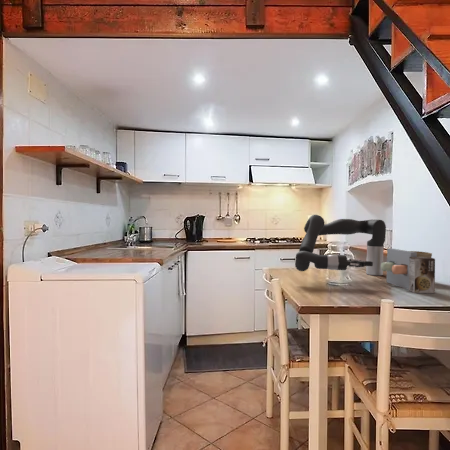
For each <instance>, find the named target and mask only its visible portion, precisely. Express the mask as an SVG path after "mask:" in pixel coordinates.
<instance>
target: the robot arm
mask: <svg viewBox="0 0 450 450" xmlns="http://www.w3.org/2000/svg"><path fill="white" fill-rule="evenodd" d="M386 226H387V225H386V222H385V221H384V220H383V219H367V220H366V219H365V220H356V219H352V218H339V219H336V220H333V221H330V222H328V223H325V219H324V217H322V216H321V215H320V214H319V215H318V214H312V215H310V217H309V218H308V220H307V221H306V223H305V225H304V227H303V231H304V232H305V235H304V237H303V238H302V241H301V244H300V246H299V250H298V252H297V253H296V254H295V259H294V260H295V264H294V266H295V268H296V270H297V271H299V272H305V271H307V270H308V269H309V267H310V264H312V263H313V264H314V267H315V268H316V269H318V270H331V271H346V270H347V269H348V267H350V268H364V267H365V273H366V275H370V276H383V275H384V271H382V269H381V263H383V262H384V246H385V245H384V244H385V242H386V233H387V227H386ZM355 234H367V235H371V239H369V240H367V242H366V258H365V260H363V259H356V258H355V259H354V258H349V259H348V257H347V255H345V254H318V253H315V252H314V250H315V247H316V243H317V240H318V237H319V236H326V235H327V236H328V235H329V236H330V235H343V236H344V235H346V236H347V235H355Z"/></svg>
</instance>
